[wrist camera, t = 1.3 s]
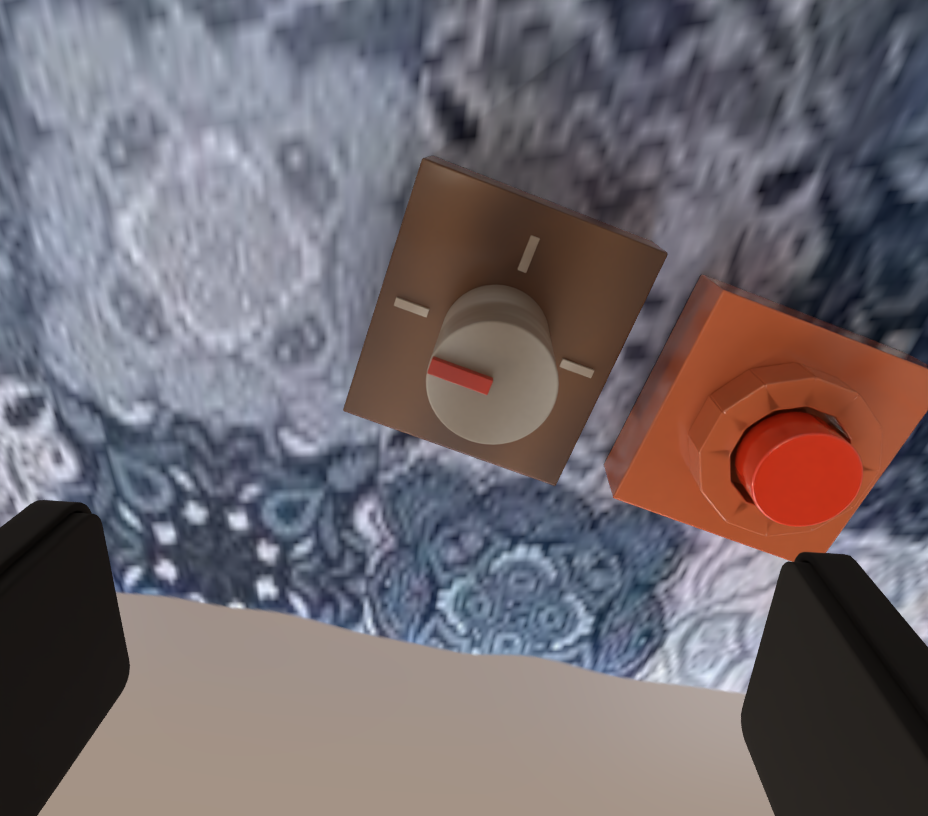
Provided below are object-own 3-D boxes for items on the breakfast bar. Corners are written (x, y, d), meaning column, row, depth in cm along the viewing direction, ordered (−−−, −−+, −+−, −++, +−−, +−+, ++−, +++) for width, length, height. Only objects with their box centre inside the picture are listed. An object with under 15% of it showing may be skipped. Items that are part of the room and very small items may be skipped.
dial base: (653, 241, 28) (669, 253, 25) (551, 456, 32) (555, 488, 29) (431, 154, 27) (421, 157, 24) (357, 387, 31) (341, 412, 28)
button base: (906, 353, 29) (982, 394, 24) (786, 531, 33) (832, 596, 28) (701, 273, 28) (738, 300, 24) (603, 465, 32) (618, 520, 27)
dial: (566, 307, 26) (581, 351, 21) (524, 402, 28) (528, 466, 22) (462, 267, 26) (450, 303, 20) (426, 366, 27) (407, 423, 22)
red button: (858, 431, 26) (886, 455, 24) (803, 512, 27) (825, 541, 25) (766, 396, 25) (787, 417, 23) (716, 481, 27) (731, 507, 25)
